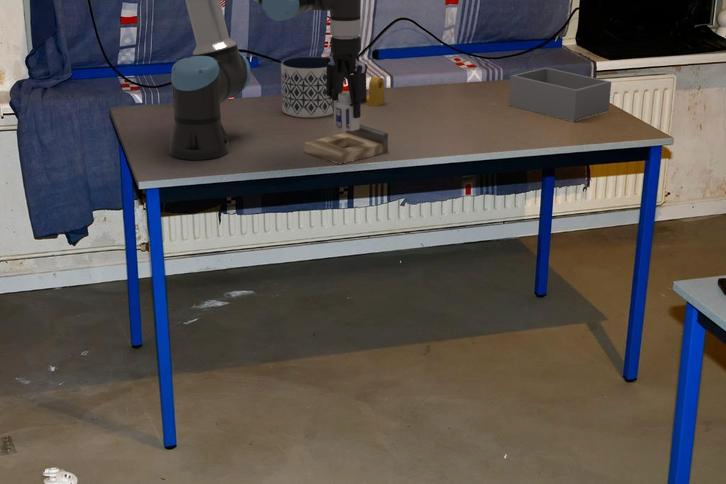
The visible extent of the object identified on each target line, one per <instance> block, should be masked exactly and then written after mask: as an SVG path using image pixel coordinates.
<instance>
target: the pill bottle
mask: <svg viewBox="0 0 726 484" xmlns="http://www.w3.org/2000/svg"><path fill="white" fill-rule="evenodd" d="M343 92H344V93H339V94H338V100H339V102H338V103H337V104H336V126H335V127H336V129H337V130H338V131H341V132H342V131H343V132H346V131H349V104H351V98H350V93H349V91H343Z"/></svg>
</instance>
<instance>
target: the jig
mask: <svg viewBox="0 0 726 484" xmlns="http://www.w3.org/2000/svg"><path fill="white" fill-rule="evenodd" d="M303 145H304V153H306V154H309V155H312V156H314V155H315V156H314V157H317V156H318V158H320V157H321V158H320V159H323V158H324V159H323V160H326V159H327V160H326V161H328V160H331V161H334V162H337V163H344V162H347V161H352V160H356V161H359V160H358V159H360V160H362V158H363V159H367V158H370V157H374V155H375V156H377V155H382V154H385V153H388V151H389V133H388V132H386V131H382V130H379V129H376V128H373V127H369V126H366V125H363V124H360V123H359V129H358V130H354V131H345V132H342V133H339V134H338V133H337V134H334V135H330V136H327V137H322V138H318V139H314V140H310V141H306V142H304V143H303ZM346 146H347V147H346ZM342 147H343V148H342ZM366 157H367V158H366ZM331 161H330V162H331ZM334 162H333V163H334ZM352 162H353V161H352ZM337 163H336V164H337Z"/></svg>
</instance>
